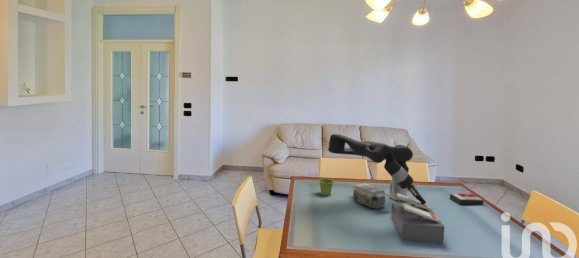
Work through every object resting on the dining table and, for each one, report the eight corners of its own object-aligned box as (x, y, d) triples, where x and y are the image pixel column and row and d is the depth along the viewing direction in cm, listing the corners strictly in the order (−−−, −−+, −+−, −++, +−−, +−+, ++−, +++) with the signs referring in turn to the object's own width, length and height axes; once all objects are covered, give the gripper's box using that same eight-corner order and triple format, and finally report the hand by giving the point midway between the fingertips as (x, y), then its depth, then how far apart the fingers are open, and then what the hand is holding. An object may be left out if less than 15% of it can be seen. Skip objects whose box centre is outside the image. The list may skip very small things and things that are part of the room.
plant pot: (334, 192, 219) (335, 179, 218) (331, 197, 211) (332, 183, 209) (320, 190, 222) (320, 178, 221) (316, 195, 214) (317, 182, 212)
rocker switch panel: (391, 216, 183) (392, 197, 182) (426, 218, 181) (427, 200, 179) (401, 240, 155) (403, 218, 154) (443, 243, 153) (445, 221, 152)
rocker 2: (402, 205, 163) (403, 203, 163) (434, 217, 162) (435, 215, 161) (405, 209, 157) (405, 207, 157) (438, 222, 156) (439, 220, 156)
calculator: (484, 199, 204) (460, 198, 202) (483, 206, 204) (459, 205, 202) (472, 193, 214) (450, 192, 213) (471, 200, 215) (449, 199, 213)
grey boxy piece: (376, 212, 186) (376, 194, 186) (346, 199, 212) (346, 183, 212) (393, 209, 191) (393, 192, 190) (362, 196, 217) (362, 181, 216)
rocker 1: (396, 194, 178) (397, 192, 177) (426, 205, 176) (427, 204, 176) (398, 198, 172) (399, 196, 171) (429, 210, 171) (430, 208, 170)
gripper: (393, 178, 180) (415, 203, 180) (397, 185, 167) (421, 212, 167) (405, 169, 179) (427, 194, 179) (410, 176, 166) (433, 203, 166)
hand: (424, 203), depth 173 cm, fingers closed
